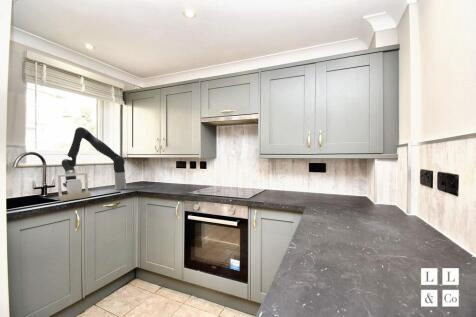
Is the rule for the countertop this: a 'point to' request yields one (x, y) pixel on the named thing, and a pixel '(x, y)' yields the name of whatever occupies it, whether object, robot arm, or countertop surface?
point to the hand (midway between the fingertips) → (73, 191)
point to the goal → (73, 196)
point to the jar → (74, 186)
